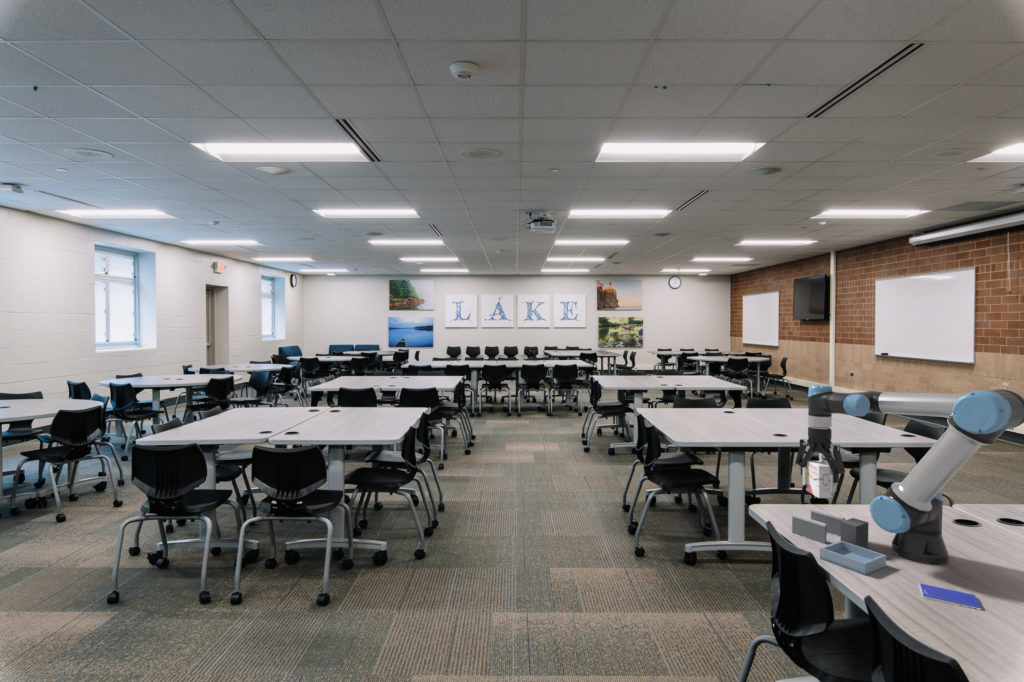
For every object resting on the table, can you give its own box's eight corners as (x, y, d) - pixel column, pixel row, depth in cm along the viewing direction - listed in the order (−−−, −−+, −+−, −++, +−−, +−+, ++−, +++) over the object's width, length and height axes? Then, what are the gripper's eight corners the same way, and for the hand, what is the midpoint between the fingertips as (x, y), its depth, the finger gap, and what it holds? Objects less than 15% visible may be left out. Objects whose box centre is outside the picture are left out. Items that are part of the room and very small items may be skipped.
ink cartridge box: (805, 491, 199) (806, 452, 199) (819, 491, 199) (819, 452, 199) (818, 498, 190) (819, 457, 190) (832, 498, 190) (832, 457, 190)
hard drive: (922, 594, 149) (981, 606, 142) (919, 582, 155) (974, 594, 149) (922, 599, 149) (980, 612, 142) (919, 587, 155) (974, 599, 149)
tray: (886, 566, 169) (886, 555, 169) (864, 575, 162) (865, 563, 162) (841, 550, 181) (841, 540, 181) (819, 558, 174) (819, 548, 174)
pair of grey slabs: (845, 536, 193) (845, 518, 193) (824, 543, 186) (824, 524, 186) (812, 526, 203) (812, 508, 203) (791, 532, 197) (792, 514, 197)
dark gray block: (868, 548, 183) (868, 522, 183) (855, 552, 179) (856, 526, 179) (852, 543, 187) (853, 517, 187) (840, 547, 183) (840, 521, 183)
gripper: (857, 431, 187) (856, 494, 187) (796, 421, 206) (796, 479, 206) (845, 433, 183) (844, 497, 183) (784, 423, 202) (784, 481, 202)
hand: (819, 487), depth 195 cm, fingers closed on ink cartridge box, 9 cm apart
